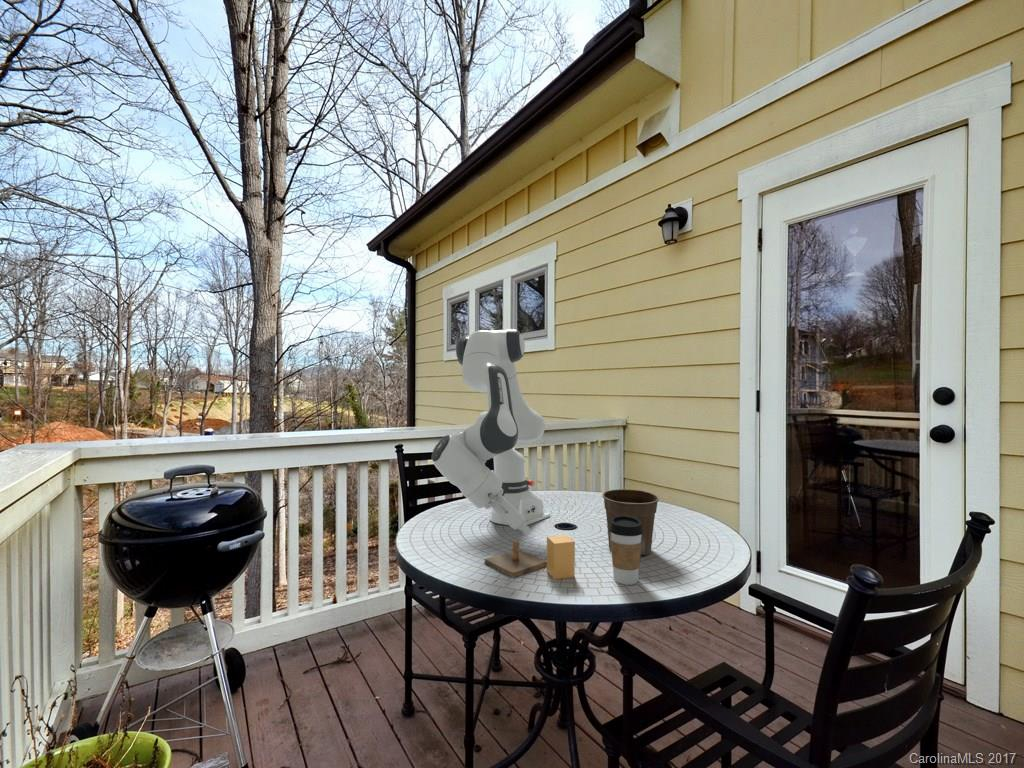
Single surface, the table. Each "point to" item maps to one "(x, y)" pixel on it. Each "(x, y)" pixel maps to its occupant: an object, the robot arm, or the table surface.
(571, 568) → the tall orange pillar
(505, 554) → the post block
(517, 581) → the table surface
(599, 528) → the table surface
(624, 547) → the coffee cup
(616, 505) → the plant pot
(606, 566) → the table surface
